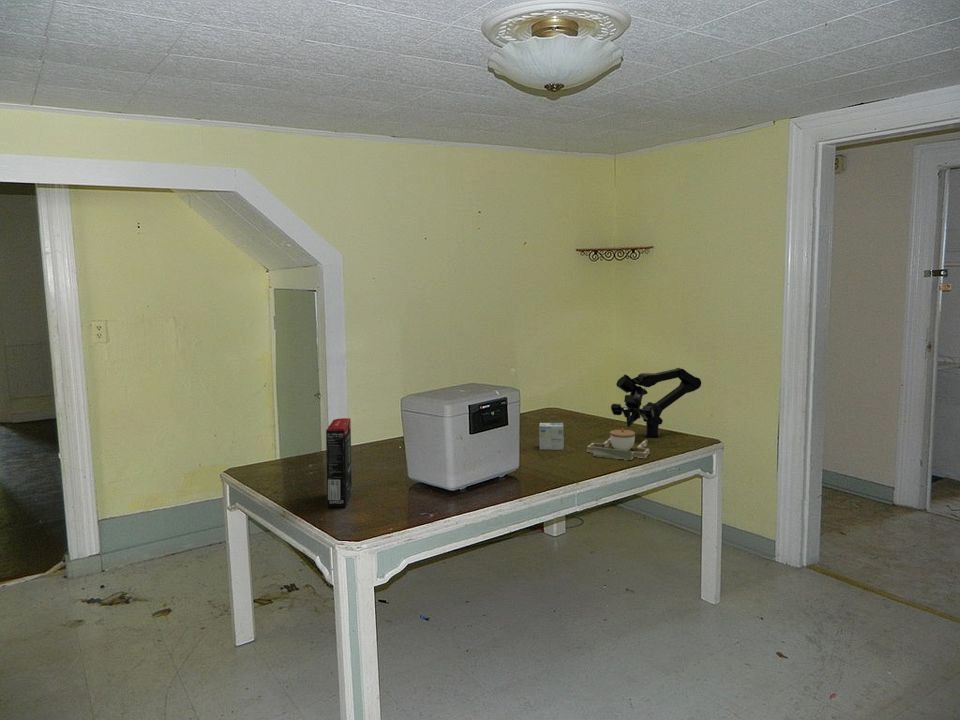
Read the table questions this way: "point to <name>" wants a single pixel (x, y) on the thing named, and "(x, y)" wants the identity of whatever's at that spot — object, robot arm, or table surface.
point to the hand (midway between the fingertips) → (628, 426)
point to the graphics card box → (338, 462)
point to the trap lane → (617, 451)
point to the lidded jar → (622, 439)
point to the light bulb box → (551, 436)
